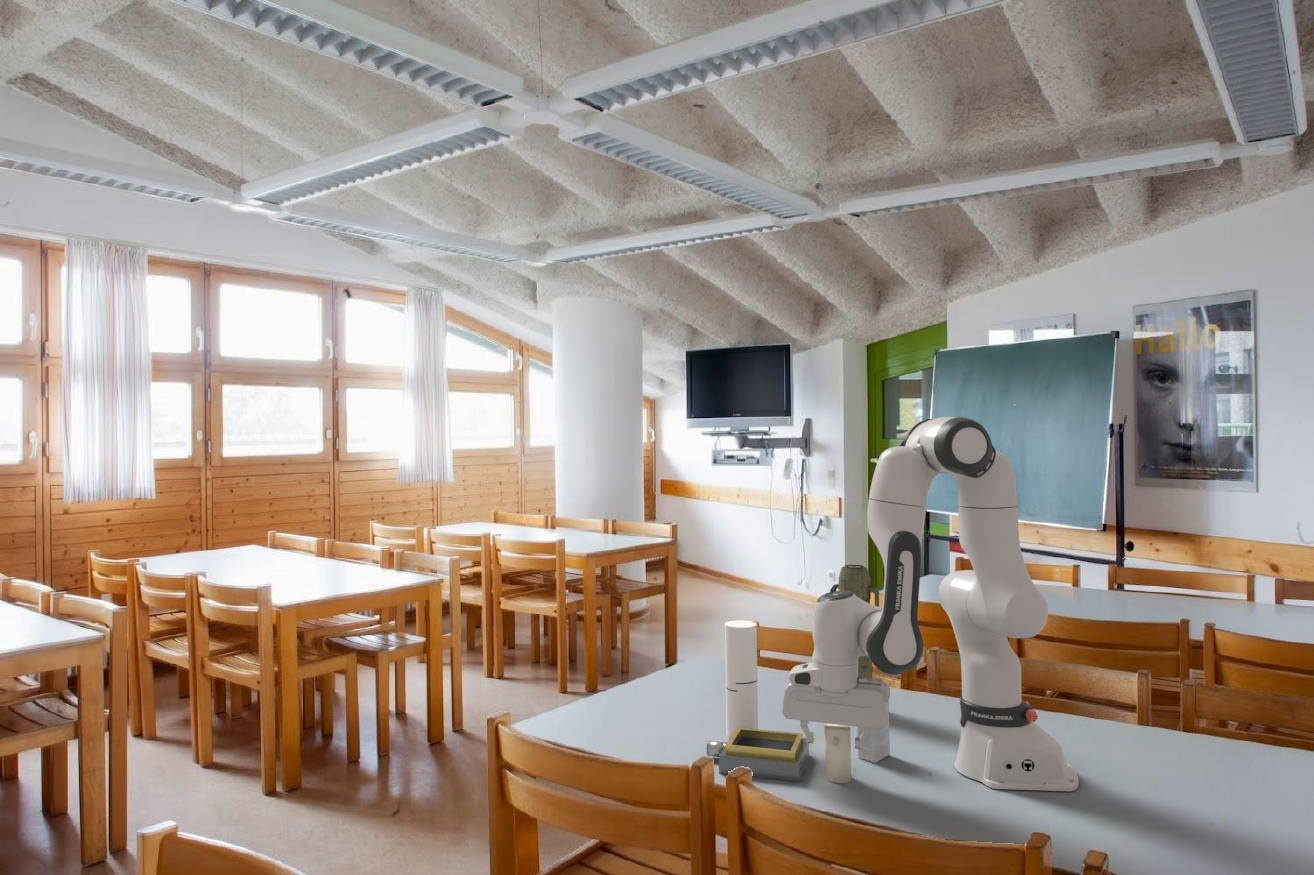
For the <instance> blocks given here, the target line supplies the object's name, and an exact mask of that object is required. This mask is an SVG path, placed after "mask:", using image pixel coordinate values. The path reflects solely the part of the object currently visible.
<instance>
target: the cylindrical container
mask: <svg viewBox="0 0 1314 875" xmlns="http://www.w3.org/2000/svg"><path fill="white" fill-rule="evenodd" d="M757 625H758V624H757V622H755V621H751V620H743V619H742V620H736V619H735V620H731V621H726V622H725V623H724V656H725V657H724V658H725V659H724V663H725V665H724V666H725V669H724V670H725V672H724V674H725V730H726V731H725V732H726V734H725V735H726V737H727V738H729V739H730V737H731V736H732V734H733V733H734V732H735V730H736V728H737V727H738V728H749V729H759V706H758V704H759V703H758V702H759V700H758V699H759V698H758V696H759V695H758V693H759V692H758V636H757V635H758V633H757V632H758V630H757V628H758V627H757Z"/></svg>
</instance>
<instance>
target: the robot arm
mask: <svg viewBox="0 0 1314 875" xmlns="http://www.w3.org/2000/svg"><path fill="white" fill-rule="evenodd" d="M874 468H875V469H874V472H873V476H872V479H871V484H870V490H869V493H868V494H869V495H868V501H867V512H866V513H867V514H866V516H867V517H866V518H867V519H866V520H867V521H866V522H867V531H868V534H869V537H870V538H871V539H872V541H873V543H874V544H875V547H876V548H877V550H878V552H879V554H880V556H881V559H882V562H883V567H884V580H883V592H882V605H881V607H880V606H879V607H877V606H875V604H874V605H873V604H871V603H870V604H869V603H867V602H865V601H864V600H862V599H860V598H859V597H857V596H856V595H855V594H854V593H852V592H849V591H839V590H836V591H834V592H830V591H829V592H826V593H825V594H822V595H821V596H820V597H818V598H817V600H816V601H815V605H814V608H813V609H814V610H813V618H812V619H813V620H812V640H813V645H814V650H813V652H812V658H811V660H812V661H811V662H806V663H802V664H797V665H795V666H793V667H792V668H791V670H790V672H789V675H788V682H789V683H788V684H787V685H786V688H785V691H784V694H783V698H782V710H781V711H782V712H781V713H782V715H783V716H784V718H785V719H787V720H795V721H799V724H800V725H799V727H801V729H802V731H803V733H804V735H805V738H806V743H809V744H812V745H814V743H815V732H814V731H813V732H812V731H811V730H810V728H809V726H808V725H809V723H810V722H812V723H813V722H814V723H821V724H822V723H823V724H838V725H848V726H849V727H861V732H863V733H862V735H861V736H860V738H858V736H855V738H854V749H856V750H858V749H862V750H863V741H864V739H865V738H866V736H867V735H868V732H869V728H875V729H884V728H885V727H886V726H887V724H888V711H887V703H886V702H888V700H889V701H890V697H891V695H890V694H891V693H890V690H891V689H890V687H889V685H888V683H886V682H885V681H882V679H880V678H873V679H869V678H863V677H858V658H859V657H860V656H868V657H869V658H870V659H871V661H872V665H874V666H875V668H876V669H877V670H880V672H881V673H885V674H886V675H892V676H898V675H904V674H906V673H909V672H910V671H912V670H913V669H914V668H916V666H917V665H918V664H919V663H920V661H921V659H922V657H923V653H924V642H923V641H924V640H923V636H922V633H921V629H920V625H919V621H918V620H919V618H918V612H919V611H918V608H919V596H920V584H921V583H920V581H921V566H922V565H921V562H922V559H921V557H922V547H923V546H922V544H923V536H924V528H925V521H926V514H927V505H928V497H929V489H930V487H931V484H932V481H934V478H935V477H936V476H937V475H938V474H951V475H952V476H953V478H954V480H955V483H956V487H957V490H958V492H957V494H958V495H957V507H958V509H957V510H958V512H957V513H958V541H959V544H960V547H961V549H962V551H964V553H965V555H966V556H967V557H968V559H969V562H970V563H971V567H972V569H963V570H962V569H961V570H954V571H952V572H949V573H948V574H947V575H946V576H945V577H943V579H942V580H941V582H940V585H939V587H938V593H937V594H938V601H939V603H940V605H941V607H942V609H943V610H944V611H945V613H946V615H947V616H948V618H949V621H950V624H951V627H952V630H953V632H954V633H953V634H954V635H955V639H956V643H957V647H958V651H959V657H960V667H961V668H960V670H961V672H960V673H961V695H960V696H959V704H958V707H959V708H958V709H959V710H958V711H959V712H958V713H959V714H958V716H959V723H960V726H961V727H960V735H959V743H958V748H957V754H956V757H955V761H954V763H953V767H954V769H956V772H958V773H960V774H961V775H963V776H965V777H966V778H970V779H972V780H975V781H978V782H980V783H982V784H984V785H985V786H987V787H989V788H990V789H995V790H1017V791H1019V790H1020V791H1023V790H1024V791H1045V792H1046V791H1047V792H1048V791H1050V792H1074V791H1075V790H1077V789H1078V788H1079V785H1080V782H1079V776H1078V774H1077V771H1076V770H1075V768H1074V767H1073V766H1072V765H1071V764H1069V763H1068V762H1066V760H1065V759H1066V758H1065V755H1064V752H1063V749H1062V746H1061V745H1060V743H1059V742H1058V741H1057V740H1056V738H1055V737H1053V736H1052V735H1051V734H1050V733H1048V732H1047V731H1046V730H1044V728H1041V726H1039V725H1038V724H1037V723H1036V721H1038V718H1039V717H1038V715H1037V712H1036V710H1034V709H1033V706H1032V705H1031V704H1030V703H1029V702H1028V701H1024V700H1023V699H1022V664H1021V662H1020V659H1019V657H1018V655H1017V654H1016V653H1015V651H1014V650H1013V648H1012V647H1011V645H1010V642H1009V640H1008V638H1014V639H1030V638H1033V637H1036V636H1037V635H1039V634H1040V633H1041V632H1042V631H1043V629H1044V627H1045V626H1046V624H1047V621H1048V618H1049V607H1048V603H1047V601H1046V598H1045V597H1044V595H1043V594H1042V593H1041V592H1040V591H1039V589H1038V588H1037V587H1036V585H1035V584H1034V582H1033V580H1032V577H1031V576H1030V573H1029V571H1028V569H1027V565H1026V562H1025V559H1024V556H1023V552H1022V548H1021V544H1020V543H1021V542H1020V529H1019V527H1020V526H1019V511H1018V509H1019V508H1018V507H1019V506H1018V492H1017V484H1016V478H1015V473H1014V472H1015V471H1014V469H1013V464H1012V461H1011V460H1010V458H1009V457H1008V456H1007V455H1006V454H1004V452H1003V453H1002V452H1000V451H999V450H996V449H995V447H994V445H993V442H992V439H991V436H990V434H989V433H988V431H987V429H986V428H985V427H984V426H983V425H982V424H981V423H980V422H978V421H976V420H974V419H970V418H968V417H965V416H963V417H962V416H961V417H959V416H958V417H956V416H955V417H954V416H941V417H937V418H929V419H924V420H922V421H920V422H918V423H916V424H915V425H914V426H912V427H911V428H910V430H909V431H908V432H907V434H906V436H905V438H904V439H903V440H902V441H901V443H900V445H898V446H892V447H889V448H887V449H885V450H884V451H882V452H881V453H880V455H879V457H878V461H877V463H876V466H875V467H874ZM858 682H859V683H858Z"/></svg>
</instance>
